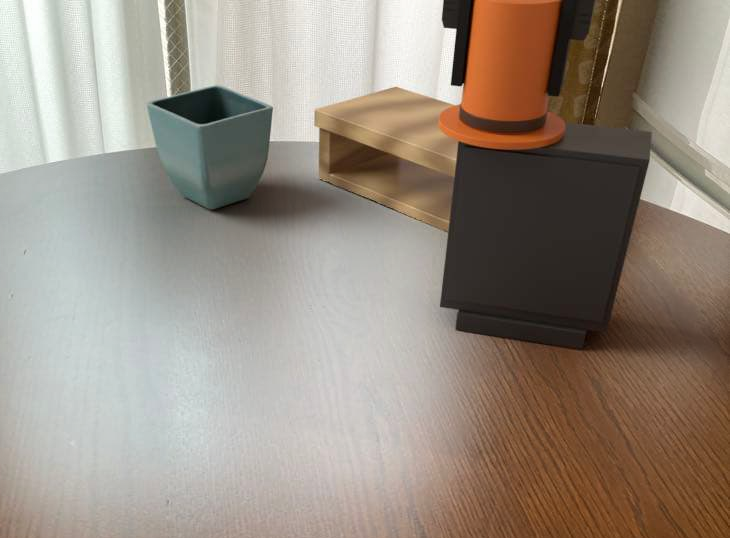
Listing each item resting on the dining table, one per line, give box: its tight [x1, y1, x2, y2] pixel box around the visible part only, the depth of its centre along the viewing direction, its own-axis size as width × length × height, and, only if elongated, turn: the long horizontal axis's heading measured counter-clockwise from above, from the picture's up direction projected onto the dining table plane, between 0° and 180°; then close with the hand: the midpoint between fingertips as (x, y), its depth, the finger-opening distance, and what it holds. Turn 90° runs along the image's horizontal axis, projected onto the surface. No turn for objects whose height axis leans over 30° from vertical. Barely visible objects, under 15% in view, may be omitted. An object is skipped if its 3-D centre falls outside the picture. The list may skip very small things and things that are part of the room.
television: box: [439, 121, 653, 351], centre depth 70 cm, size 7×13×14 cm, turn 74°
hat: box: [438, 0, 566, 150], centre depth 63 cm, size 9×9×8 cm
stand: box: [313, 86, 458, 233], centre depth 92 cm, size 22×12×7 cm, turn 44°
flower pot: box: [146, 84, 274, 211], centre depth 89 cm, size 9×9×9 cm
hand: (506, 84), depth 64 cm, fingers closed on hat, 6 cm apart
